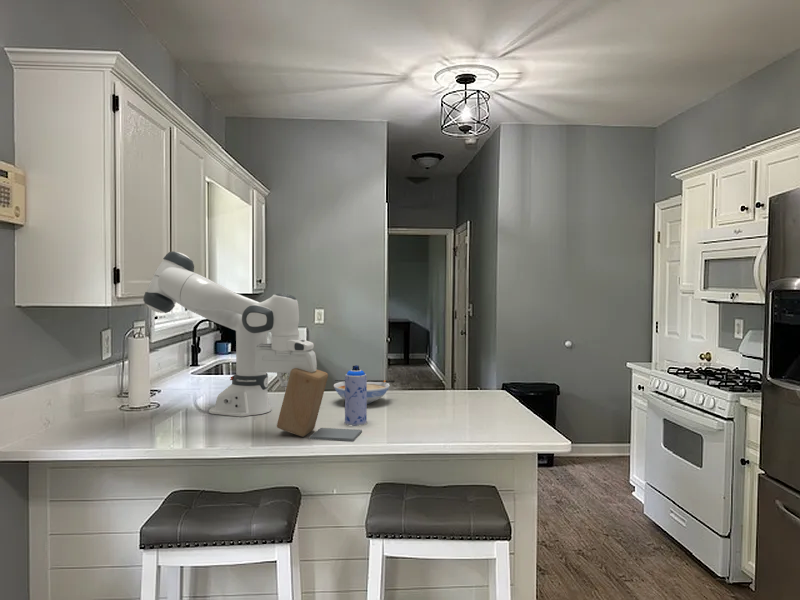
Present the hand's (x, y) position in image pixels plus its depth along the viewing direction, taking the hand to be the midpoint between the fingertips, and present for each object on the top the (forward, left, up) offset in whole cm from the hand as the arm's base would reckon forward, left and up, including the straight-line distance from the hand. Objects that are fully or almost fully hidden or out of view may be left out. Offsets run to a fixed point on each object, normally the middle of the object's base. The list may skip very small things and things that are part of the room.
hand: (285, 386), depth 189 cm
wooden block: (+3, 0, -14) cm, 14 cm away
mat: (+17, 0, -15) cm, 23 cm away
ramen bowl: (+13, +50, -15) cm, 54 cm away
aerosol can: (+19, +17, -15) cm, 30 cm away
